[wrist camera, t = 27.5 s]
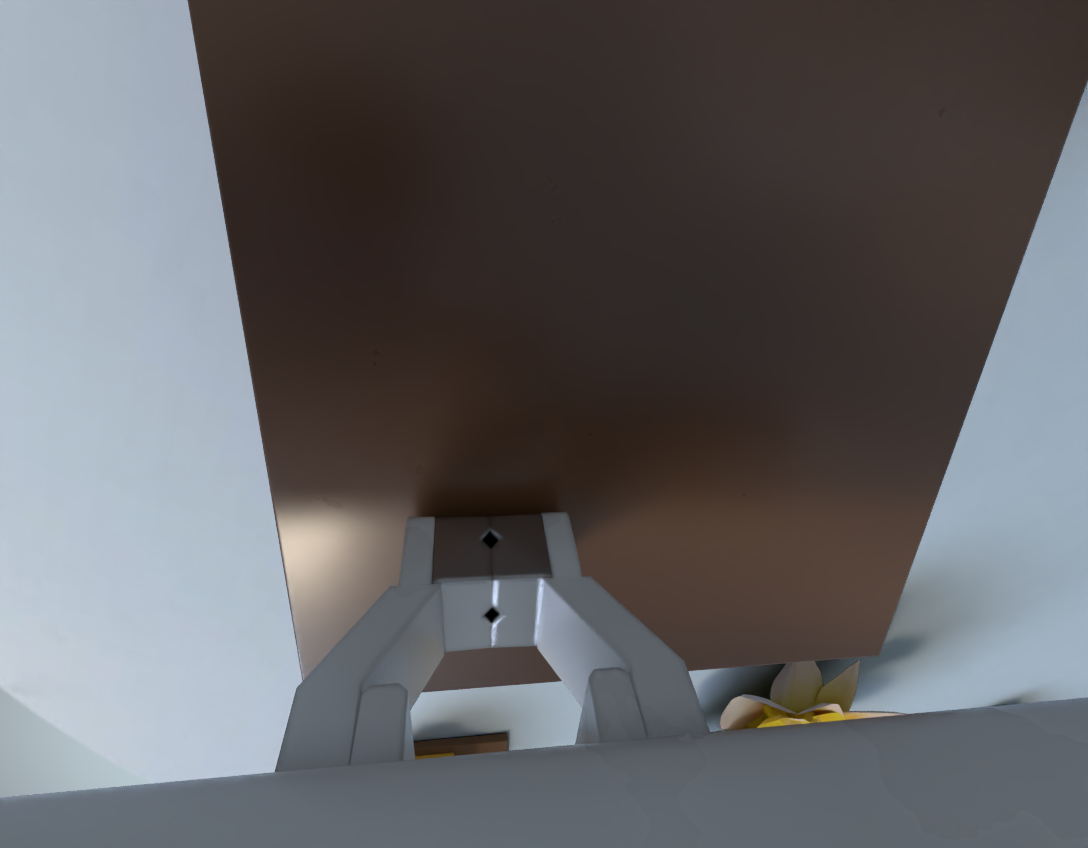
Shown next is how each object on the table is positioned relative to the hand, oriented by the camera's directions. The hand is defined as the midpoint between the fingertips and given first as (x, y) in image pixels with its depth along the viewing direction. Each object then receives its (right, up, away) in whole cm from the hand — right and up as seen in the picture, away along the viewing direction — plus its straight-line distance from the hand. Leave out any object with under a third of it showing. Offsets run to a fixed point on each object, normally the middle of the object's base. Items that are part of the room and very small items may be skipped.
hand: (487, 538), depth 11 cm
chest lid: (+3, +4, 0) cm, 5 cm away
